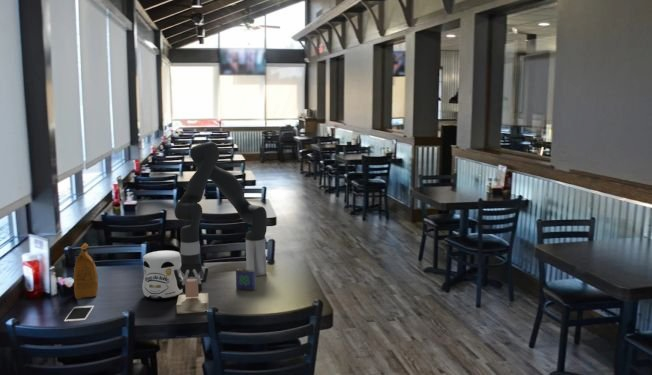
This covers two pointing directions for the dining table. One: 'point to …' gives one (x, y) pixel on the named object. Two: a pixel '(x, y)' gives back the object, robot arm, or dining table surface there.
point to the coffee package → (85, 275)
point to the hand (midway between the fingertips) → (192, 292)
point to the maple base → (192, 303)
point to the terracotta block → (191, 288)
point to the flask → (245, 279)
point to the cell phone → (79, 313)
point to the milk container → (161, 275)
